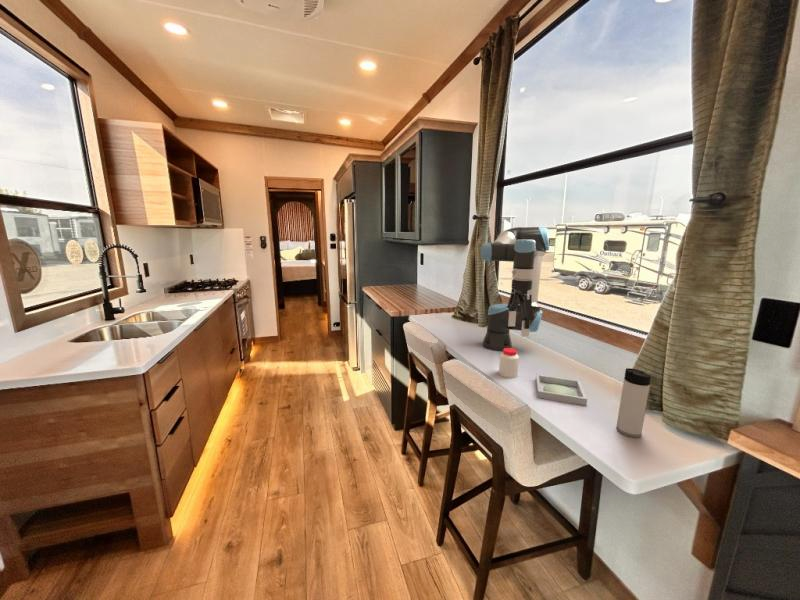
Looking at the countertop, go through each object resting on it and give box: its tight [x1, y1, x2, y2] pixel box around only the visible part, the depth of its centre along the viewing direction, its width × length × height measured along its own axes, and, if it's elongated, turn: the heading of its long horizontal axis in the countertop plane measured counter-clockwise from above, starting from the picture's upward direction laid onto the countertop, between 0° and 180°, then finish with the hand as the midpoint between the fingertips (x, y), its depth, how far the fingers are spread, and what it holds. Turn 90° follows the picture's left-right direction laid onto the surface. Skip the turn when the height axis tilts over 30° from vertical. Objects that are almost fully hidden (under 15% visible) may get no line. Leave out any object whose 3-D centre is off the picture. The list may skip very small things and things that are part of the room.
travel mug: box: [616, 367, 652, 438], centre depth 95 cm, size 6×7×20 cm
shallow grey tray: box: [535, 374, 588, 406], centre depth 122 cm, size 16×16×2 cm
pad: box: [542, 383, 576, 396], centre depth 122 cm, size 11×11×1 cm
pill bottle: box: [498, 347, 520, 379], centre depth 137 cm, size 8×8×11 cm
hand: (517, 331), depth 129 cm, fingers open, 13 cm apart
